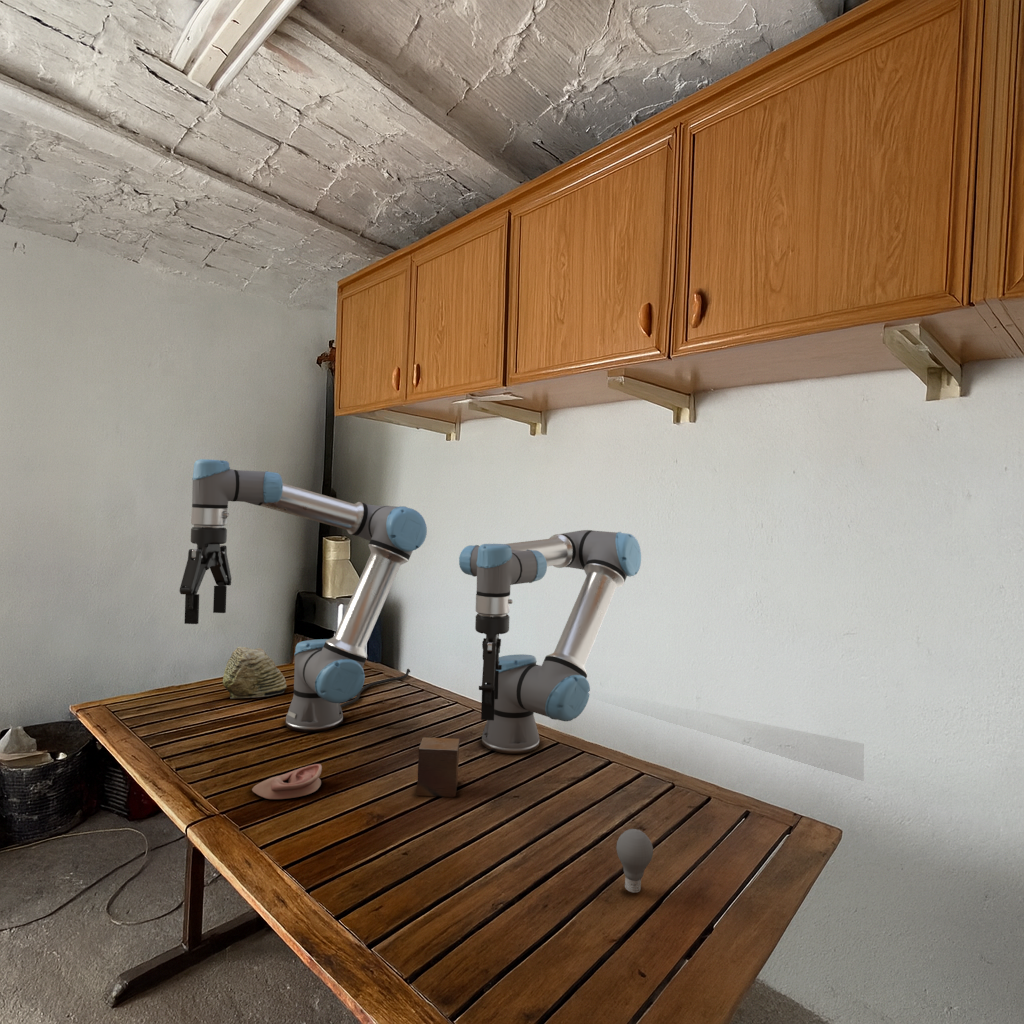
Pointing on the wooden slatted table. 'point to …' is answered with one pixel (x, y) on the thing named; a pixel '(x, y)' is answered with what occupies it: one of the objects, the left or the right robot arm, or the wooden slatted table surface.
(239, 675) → the fossil
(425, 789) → the block
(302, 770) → the anatomical model
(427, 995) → the wooden slatted table surface
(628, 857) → the light bulb
